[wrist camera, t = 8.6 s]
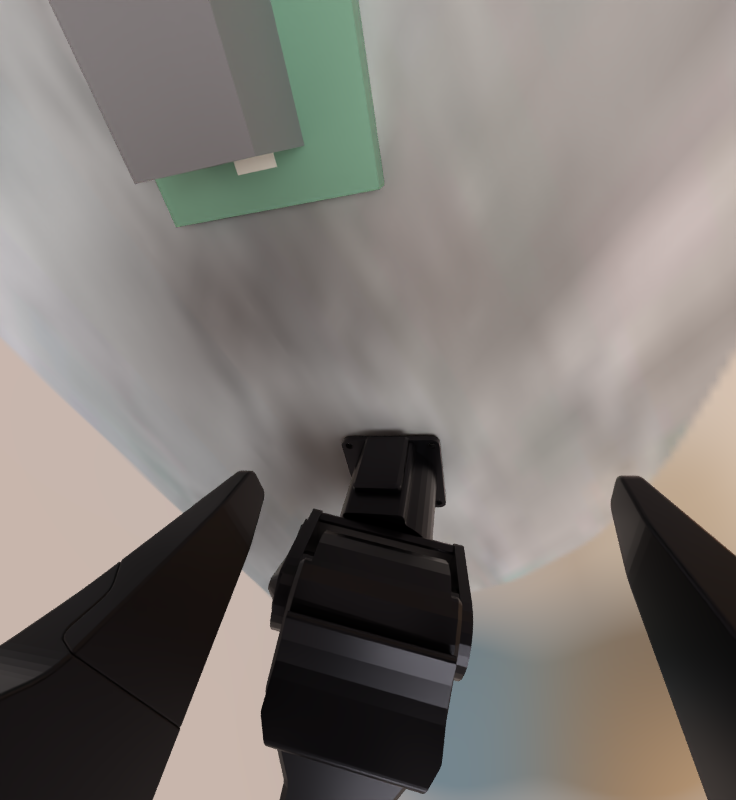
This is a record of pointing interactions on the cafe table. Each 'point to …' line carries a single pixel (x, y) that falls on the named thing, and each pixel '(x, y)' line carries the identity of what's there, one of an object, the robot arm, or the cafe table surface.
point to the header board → (319, 121)
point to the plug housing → (184, 80)
